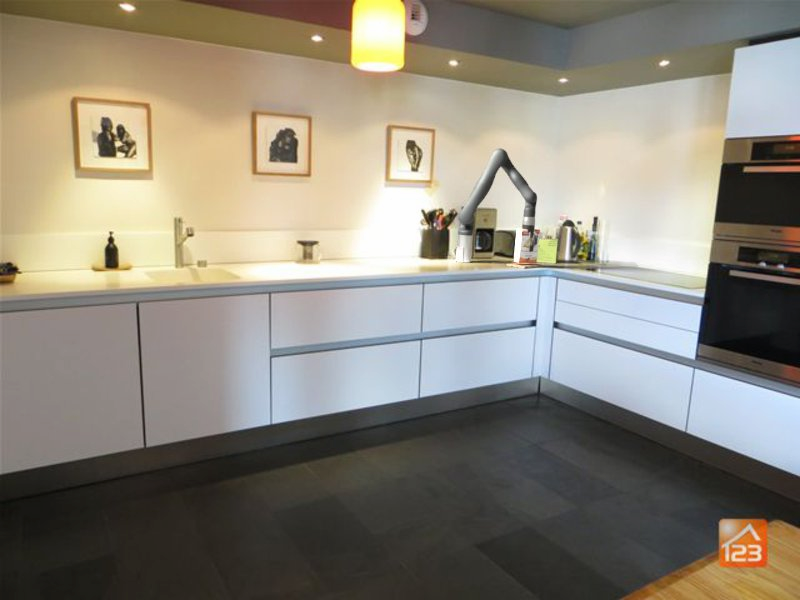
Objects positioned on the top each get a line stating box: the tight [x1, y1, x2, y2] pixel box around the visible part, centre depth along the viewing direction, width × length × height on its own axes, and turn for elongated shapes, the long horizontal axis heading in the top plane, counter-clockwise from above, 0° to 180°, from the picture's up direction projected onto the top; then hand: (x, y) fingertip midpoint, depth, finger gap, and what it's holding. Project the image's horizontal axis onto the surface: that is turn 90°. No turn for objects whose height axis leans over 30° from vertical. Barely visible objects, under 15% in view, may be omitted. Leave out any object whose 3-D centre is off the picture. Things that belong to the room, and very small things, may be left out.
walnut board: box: [505, 262, 545, 269], centre depth 361 cm, size 20×14×1 cm
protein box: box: [537, 237, 559, 264], centre depth 392 cm, size 10×15×16 cm
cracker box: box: [513, 228, 541, 264], centre depth 359 cm, size 14×6×21 cm, turn 115°
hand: (526, 251), depth 360 cm, fingers closed on cracker box, 6 cm apart
